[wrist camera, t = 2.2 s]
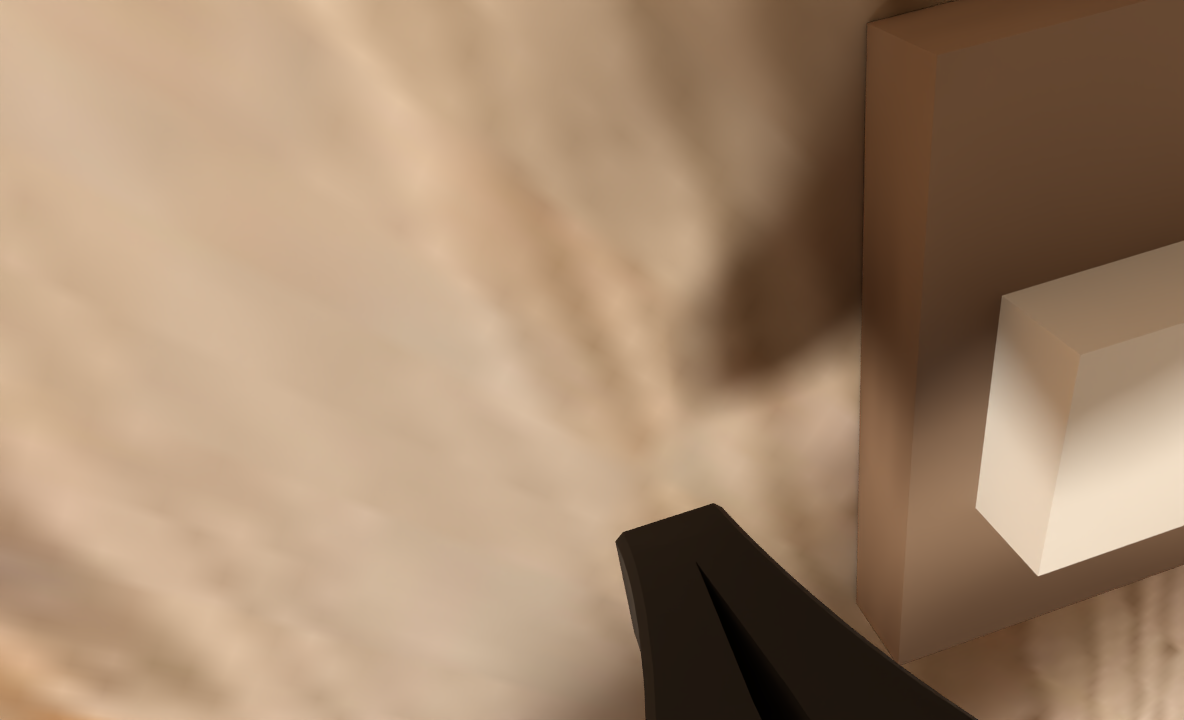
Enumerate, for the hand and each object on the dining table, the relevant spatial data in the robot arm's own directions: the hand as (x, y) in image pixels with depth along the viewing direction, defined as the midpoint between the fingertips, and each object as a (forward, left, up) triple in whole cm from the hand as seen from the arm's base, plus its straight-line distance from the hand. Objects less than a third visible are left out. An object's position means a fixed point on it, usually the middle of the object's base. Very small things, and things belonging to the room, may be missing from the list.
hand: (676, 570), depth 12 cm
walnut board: (0, -9, -2) cm, 9 cm away
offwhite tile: (0, -7, -1) cm, 7 cm away
